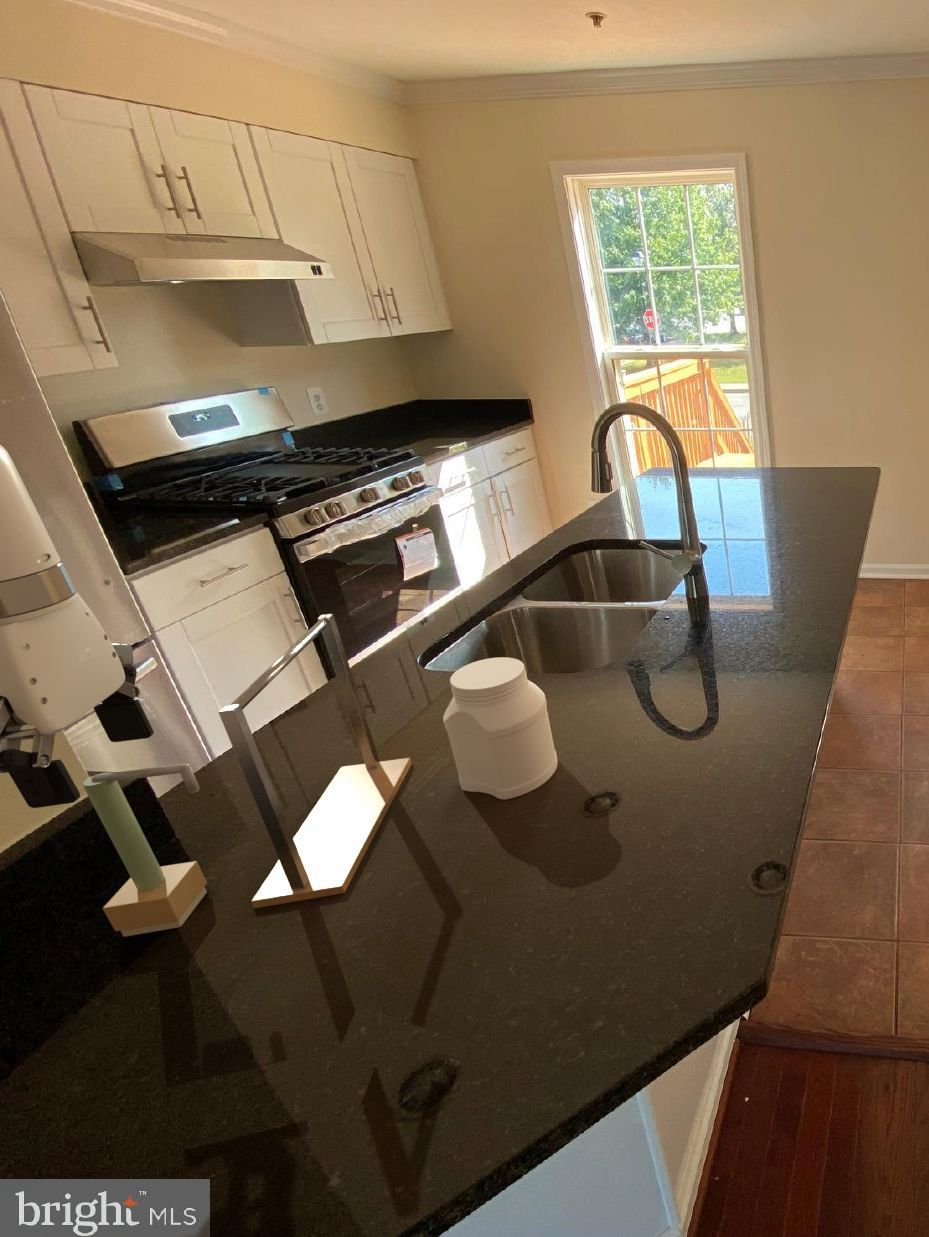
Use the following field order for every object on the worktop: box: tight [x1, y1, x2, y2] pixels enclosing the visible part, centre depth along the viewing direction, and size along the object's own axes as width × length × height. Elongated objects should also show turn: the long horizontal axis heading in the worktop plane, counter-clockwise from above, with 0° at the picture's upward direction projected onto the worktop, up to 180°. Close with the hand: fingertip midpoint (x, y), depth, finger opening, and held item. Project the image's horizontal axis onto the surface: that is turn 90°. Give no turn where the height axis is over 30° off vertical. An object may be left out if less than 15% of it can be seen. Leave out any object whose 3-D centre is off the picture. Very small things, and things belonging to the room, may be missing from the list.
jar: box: [442, 656, 559, 801], centre depth 88 cm, size 12×10×15 cm
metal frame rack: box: [218, 613, 412, 909], centre depth 77 cm, size 8×23×22 cm, turn 15°
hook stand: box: [81, 763, 208, 937], centre depth 66 cm, size 9×5×17 cm, turn 106°
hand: (97, 768), depth 62 cm, fingers open, 9 cm apart
